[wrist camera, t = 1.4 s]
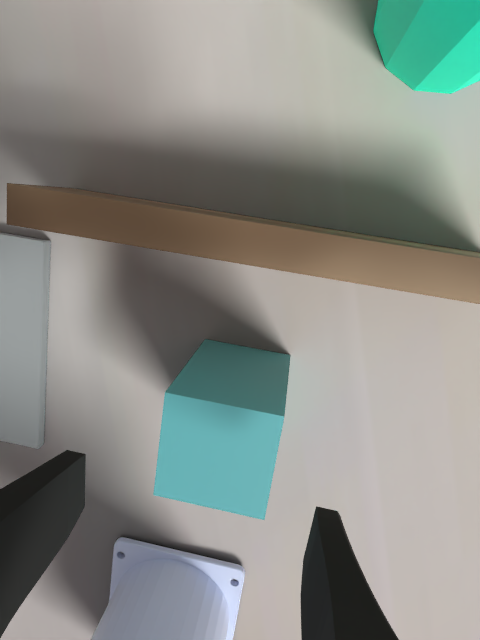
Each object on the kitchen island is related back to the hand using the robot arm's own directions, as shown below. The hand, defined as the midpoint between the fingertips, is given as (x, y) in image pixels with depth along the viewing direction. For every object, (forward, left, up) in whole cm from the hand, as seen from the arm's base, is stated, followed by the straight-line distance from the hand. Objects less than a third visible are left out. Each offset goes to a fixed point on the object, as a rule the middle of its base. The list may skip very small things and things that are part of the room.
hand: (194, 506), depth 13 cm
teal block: (-1, 0, -11) cm, 11 cm away
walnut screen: (+7, 0, -11) cm, 13 cm away
